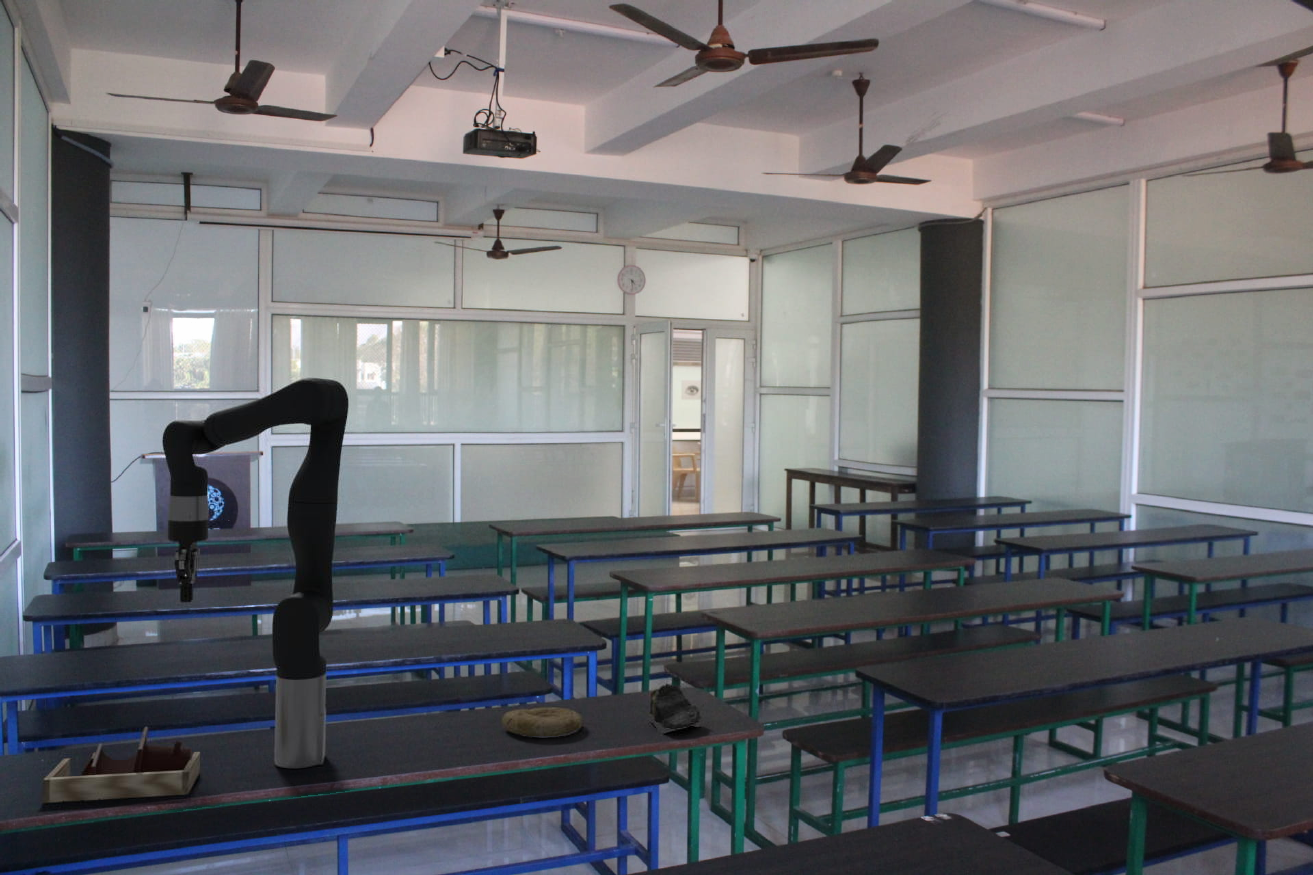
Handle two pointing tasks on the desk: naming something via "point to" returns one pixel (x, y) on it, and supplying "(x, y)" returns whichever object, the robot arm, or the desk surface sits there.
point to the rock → (672, 708)
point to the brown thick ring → (542, 721)
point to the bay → (118, 783)
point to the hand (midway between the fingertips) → (186, 601)
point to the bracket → (140, 760)
